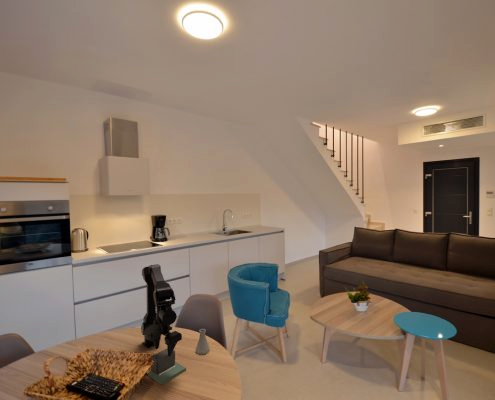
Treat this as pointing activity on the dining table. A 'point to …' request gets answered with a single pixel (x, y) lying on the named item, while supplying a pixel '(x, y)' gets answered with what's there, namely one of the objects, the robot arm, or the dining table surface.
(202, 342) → the grey flared piece
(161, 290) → the robot arm
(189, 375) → the dining table surface
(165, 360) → the block
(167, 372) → the header board
